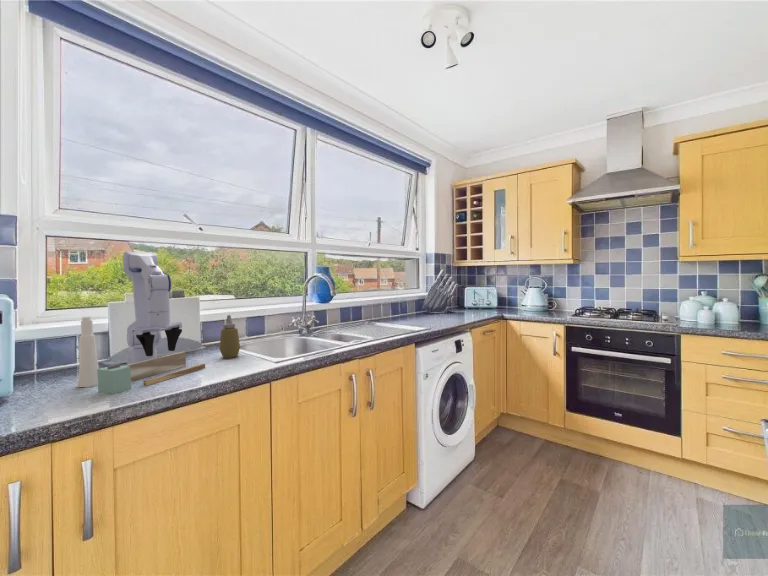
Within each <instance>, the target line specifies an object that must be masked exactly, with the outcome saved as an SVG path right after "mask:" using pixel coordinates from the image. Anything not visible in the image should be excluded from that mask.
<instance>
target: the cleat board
mask: <svg viewBox="0 0 768 576" xmlns="http://www.w3.org/2000/svg"><path fill="white" fill-rule="evenodd" d="M186 358H187V357H186V351H180V352H174V353H172V354H166V355H163V356H157V358H153V359H149V360H145V361H141V362H137V363H132V364H128V365H127V364H125V365H123V366H129V367H130V373H131V382H134V381H137V379H138V380H141V379H144V377H145V378H147V377H151V376H154V375H158V374H162V373H165V371H166V372H168V373H166V374H162V375H158V376H155V377H152V378H147V379H145V380H143V386H146V387H149V386H150V385H153V384H154V385H155V384H158V383H160V382H161V383H162V382H164V381H167V380H170V378H171V379H173V378H177V377H180V376H183V375H187V374H190V373H193V372H197V371H199V370H203V369H205V368H206V364H205V363H200V364H196V365H193V366H189V367H186V366H187V363H186V361H187V359H186ZM183 367H186V368H183ZM180 368H183V369H180ZM176 369H179V370H177V371H176ZM169 370H170V371H172V372H170V371H169ZM173 370H175V371H173ZM157 382H158V383H157Z"/></svg>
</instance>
